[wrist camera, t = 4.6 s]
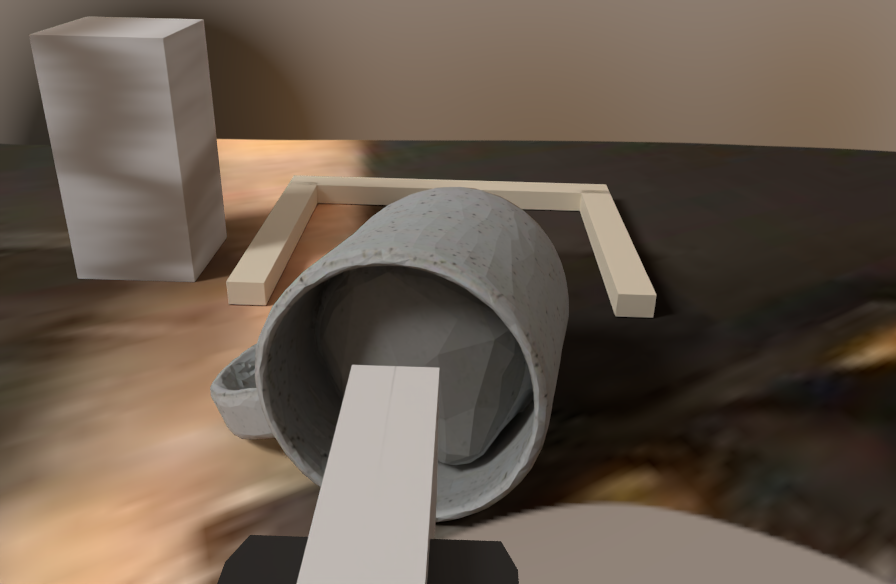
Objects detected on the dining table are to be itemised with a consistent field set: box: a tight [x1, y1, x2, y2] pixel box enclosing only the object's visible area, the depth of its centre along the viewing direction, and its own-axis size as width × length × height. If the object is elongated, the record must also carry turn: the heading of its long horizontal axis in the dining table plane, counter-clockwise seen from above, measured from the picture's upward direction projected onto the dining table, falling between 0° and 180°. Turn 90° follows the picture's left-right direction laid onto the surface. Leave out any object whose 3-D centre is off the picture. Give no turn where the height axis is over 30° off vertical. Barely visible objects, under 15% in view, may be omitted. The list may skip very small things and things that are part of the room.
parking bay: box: [226, 175, 657, 318], centre depth 38 cm, size 17×14×1 cm
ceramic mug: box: [210, 187, 569, 522], centre depth 24 cm, size 11×8×8 cm
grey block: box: [29, 17, 227, 282], centre depth 34 cm, size 5×5×10 cm
